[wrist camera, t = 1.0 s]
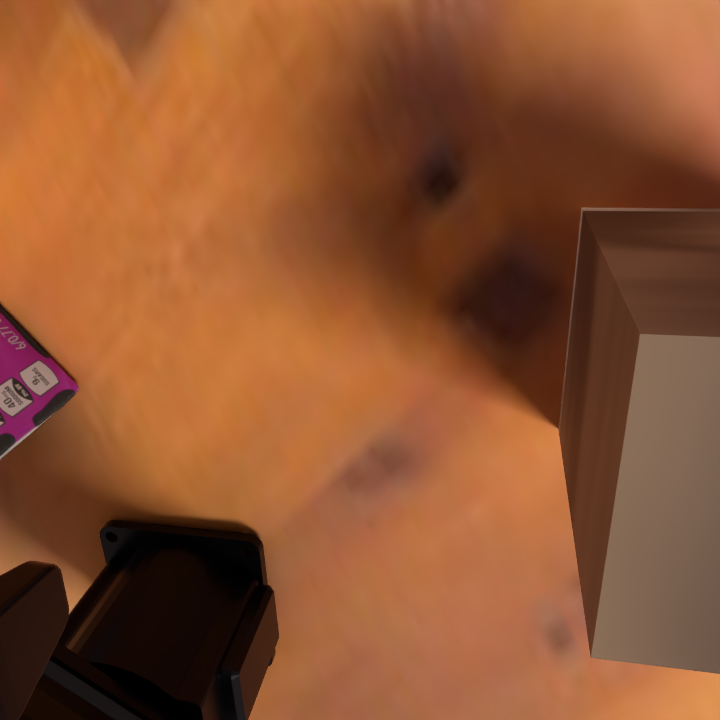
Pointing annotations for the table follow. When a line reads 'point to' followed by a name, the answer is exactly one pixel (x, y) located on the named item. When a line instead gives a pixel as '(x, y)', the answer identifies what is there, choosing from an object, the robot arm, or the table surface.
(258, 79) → the table surface
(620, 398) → the walnut block
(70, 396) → the candy bar box
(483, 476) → the table surface
